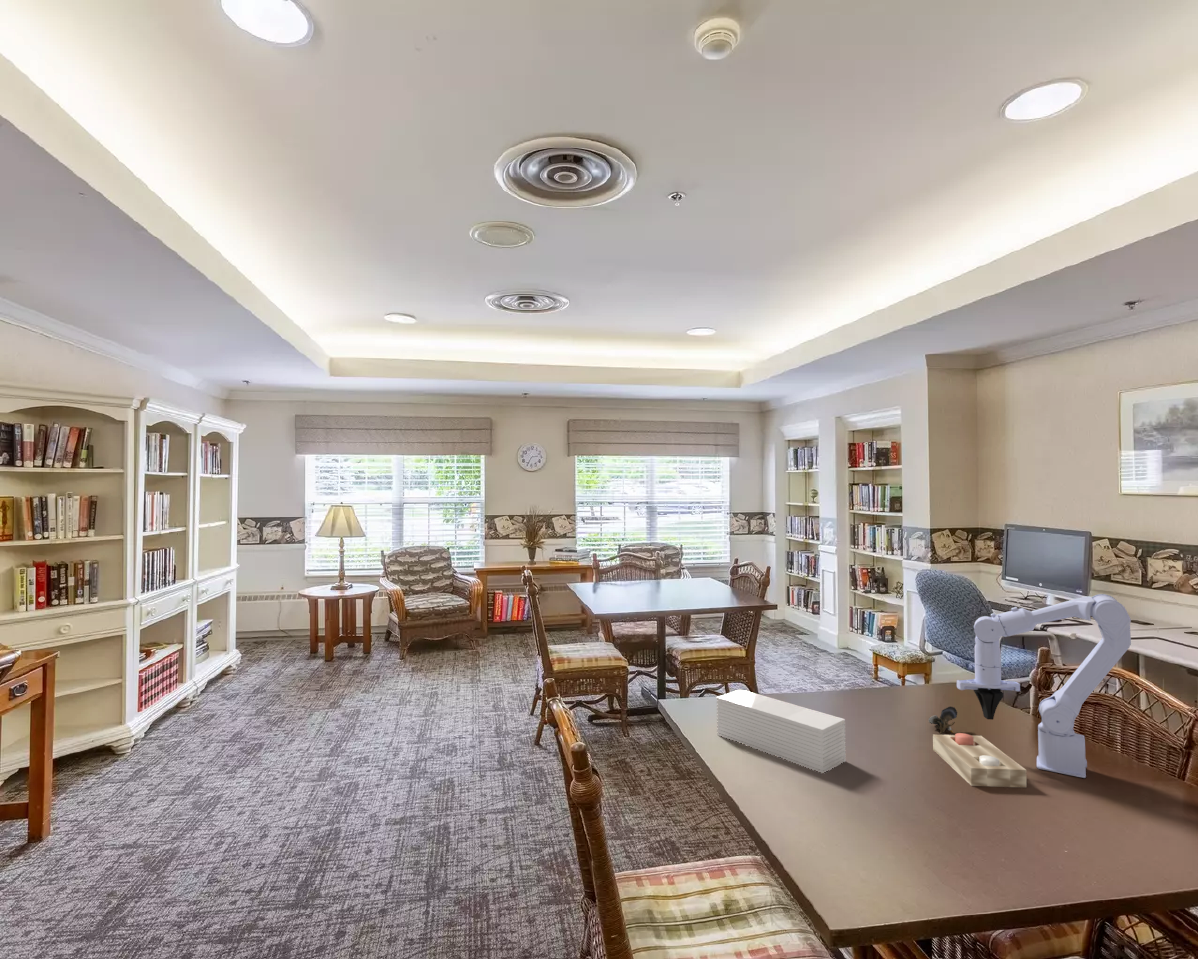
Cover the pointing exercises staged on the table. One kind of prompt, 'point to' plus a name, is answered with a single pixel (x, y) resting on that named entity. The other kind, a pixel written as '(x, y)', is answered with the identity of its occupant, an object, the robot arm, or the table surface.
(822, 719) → the stack of papers
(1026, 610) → the robot arm
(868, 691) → the table surface
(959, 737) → the pink rounded plug
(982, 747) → the press housing
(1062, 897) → the table surface
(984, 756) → the ivory plunger
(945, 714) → the eagle figurine
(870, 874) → the table surface
